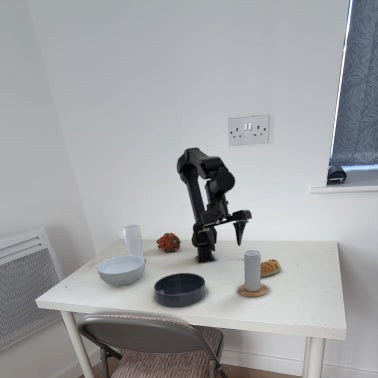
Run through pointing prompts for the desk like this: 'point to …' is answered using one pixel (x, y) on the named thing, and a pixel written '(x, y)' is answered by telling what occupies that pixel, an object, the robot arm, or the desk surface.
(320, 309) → the desk surface
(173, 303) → the pan
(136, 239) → the drinking glass
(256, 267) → the beverage can
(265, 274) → the pastry
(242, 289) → the coaster
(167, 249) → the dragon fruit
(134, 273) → the cereal bowl
